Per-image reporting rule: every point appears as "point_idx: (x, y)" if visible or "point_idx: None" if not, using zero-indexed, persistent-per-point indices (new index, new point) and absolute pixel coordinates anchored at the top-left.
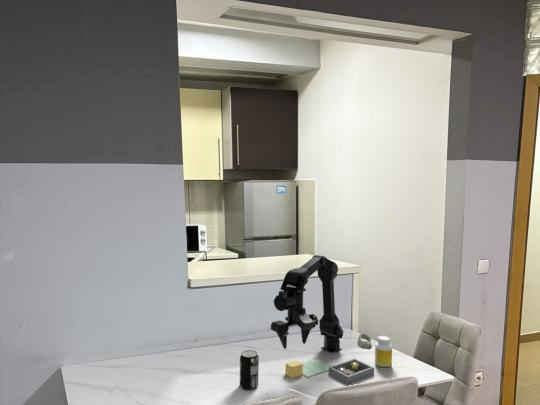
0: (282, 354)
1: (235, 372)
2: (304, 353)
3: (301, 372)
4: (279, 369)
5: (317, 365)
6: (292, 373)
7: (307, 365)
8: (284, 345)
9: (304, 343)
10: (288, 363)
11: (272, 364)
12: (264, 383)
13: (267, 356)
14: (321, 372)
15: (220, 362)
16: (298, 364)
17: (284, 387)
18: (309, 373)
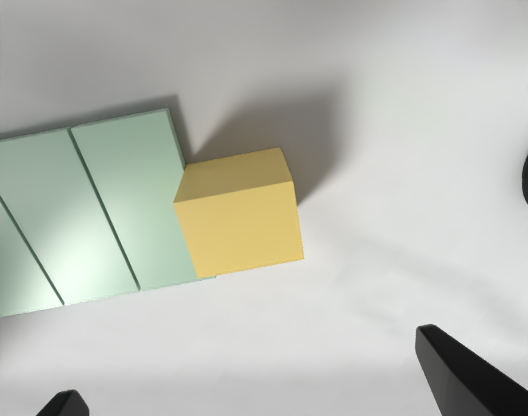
0: (183, 410)
1: (503, 319)
2: (54, 395)
3: (192, 172)
4: (284, 283)
5: (20, 243)
6: (282, 160)
7: (96, 264)
8: (482, 367)
9: (70, 392)
10: (285, 249)
11: (289, 339)
12: (468, 162)
13: (267, 408)
14: (22, 137)
15: None
16: (214, 207)
17: (397, 53)
18: (129, 154)
